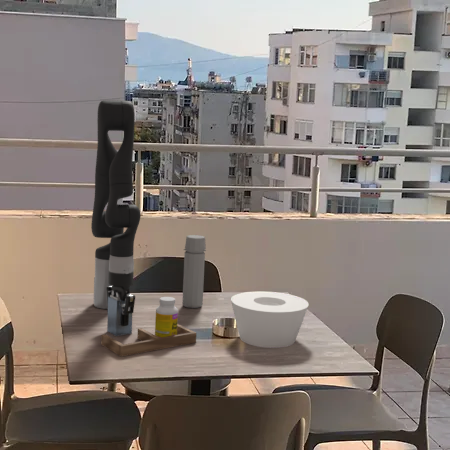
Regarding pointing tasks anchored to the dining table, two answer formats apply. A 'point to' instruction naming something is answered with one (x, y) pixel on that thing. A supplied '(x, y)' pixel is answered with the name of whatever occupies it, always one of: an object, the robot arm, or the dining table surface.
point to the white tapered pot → (268, 318)
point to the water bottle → (194, 271)
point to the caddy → (149, 342)
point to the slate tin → (117, 318)
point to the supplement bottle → (166, 318)
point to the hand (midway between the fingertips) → (119, 322)
